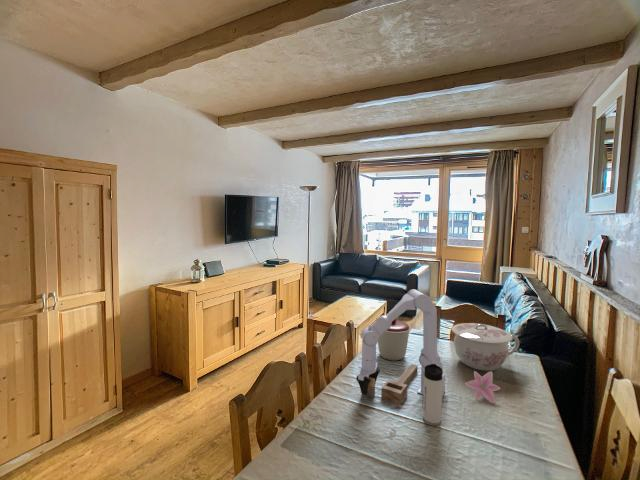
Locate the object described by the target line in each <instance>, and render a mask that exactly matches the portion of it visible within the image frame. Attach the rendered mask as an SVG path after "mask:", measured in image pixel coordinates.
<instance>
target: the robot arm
mask: <svg viewBox="0 0 640 480" xmlns="http://www.w3.org/2000/svg"><path fill="white" fill-rule="evenodd" d="M417 309H418V310H420V311H422V316H423V317H422V318H423V319H422V324H423V325H422V328H423V329H422V332H423V333H422V335H423V337H422V338H423V341H422V342H423V344H422V345H423V346H422V347H423V348H421V350H420V355H419V357H418V362H419V364H420V365H421V366H420V368H421V369H420V370H421V374H420V387H419V389H418V390H417V394H420V395H423V396H424V374H425V366H427V365H431V364H436V365H437V366H439V367H441V368H442V370H444V369H443V368H444V367H443V364H442V362H441V356H440V354H439V352H438V345H437V344H438V329H437V328H438V327H437V325H438V323H437V322H438V319H437V318H438V314H437V312H438V311H437V307H436V305H435V304H434V302H433V298H432V297H430V296H429V295H427V294H426V293H422V292H421V291H419V290H418V289H414V288H413V289H410V290H409V291H407V293H404V295H403V296H402V298H401V299H400V300H399V302H397V303H396V304H395V305H394V307H393V308H392V309H391V310H390V311H388V313H387V314H384V315H380V316H377V317H376V320H375V321H373V322H371V324H368V326H367V327H365V328H363V329H362V330H361V333H360V334H359V336H360V338H361V340H362V341H361V343H362V344H361V364H360V365H359V366H358V368H359V373H358V374H357V376H356V378H355V379H356V381H357V383H358V385H359V388H360V392H361V395H362V394H364V395H367V391H368V385H369V382H370V379H367V378H366V376H368V377H371V378H374V379H375V384H376V383H377V379H378V376H379V374H380V372H381V369H380V368H379V362H378V361H377V345H378V340H379V337H380V335H382V334H383V333H384V332H385V331H387V330H388V329H389V328H390V327H391V323H392V321H393V320H395V319H396V320H397V318H399V317H400V316H401V315H402V314H404V313H405V312H406V311H416V310H417ZM379 334H380V335H379ZM442 378H443V379H442V397H443V396H444V394H445V393H446V376H445V374H443V375H442Z"/></svg>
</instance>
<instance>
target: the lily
mask: <svg viewBox="0 0 640 480" xmlns="http://www.w3.org/2000/svg"><path fill="white" fill-rule="evenodd" d="M473 375H474V379H472V380H469V381H466V382H465V384H464V385H466V386H467V387H469V388H470V389H473V390H475V400H479V399H481V398H482V397H483V396H484V397H485V398H486V399H487V400H488V401H489V402H490V403H492V404H496V399H495V394H494V392H495V391H500V390H501V387H500V386H498V385H497V384H495V383H493V380H494V377H493V376H494V375H493V370H492V371H488V372H487V373H486V374H483V375H481V374H479V373H478V372H477V371H475V370H474V371H473Z"/></svg>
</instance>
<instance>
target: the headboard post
mask: <svg viewBox="0 0 640 480" xmlns="http://www.w3.org/2000/svg"><path fill="white" fill-rule="evenodd" d="M417 374H418V365H417V364H414V363H410V365H409V366H408V367H407V368H406V369H405V370H404V372H403V373H402V374H401V375H400V376H399V377H398V379H397V380H392V379H388V380H387V381H386V382H385V383H384V385H383V386H382V387H381V399H383V400H386V401H389V402H392V403H395V404H397V405H402V403H403V402H404V401H405V399H406V398H407V396H408V385H409V384H410V383H411V382H412V381H413V380H414V379H413V378H415V376H416V375H417Z"/></svg>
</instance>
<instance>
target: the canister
mask: <svg viewBox="0 0 640 480" xmlns="http://www.w3.org/2000/svg"><path fill="white" fill-rule="evenodd" d="M411 329H412V328H411V326H410V324H408V323H406V322H405V321H402V320H398V319H397V318H396V319H395V320H393V321H392V323H391V327H390V328H389V329H388V330H387V331H385V332H384V333H383V334H382V335H380V334H379V335H380V337H379V340H378V343H377V345H378V347H377V348H378V353H379V355H380V356H381V357H382V358H383V359H385V360H388V361H394V362H395V361H400V360H402V359H404V358H405V357H406V354H407V347H408V342H409V334H410V331H411Z"/></svg>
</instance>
